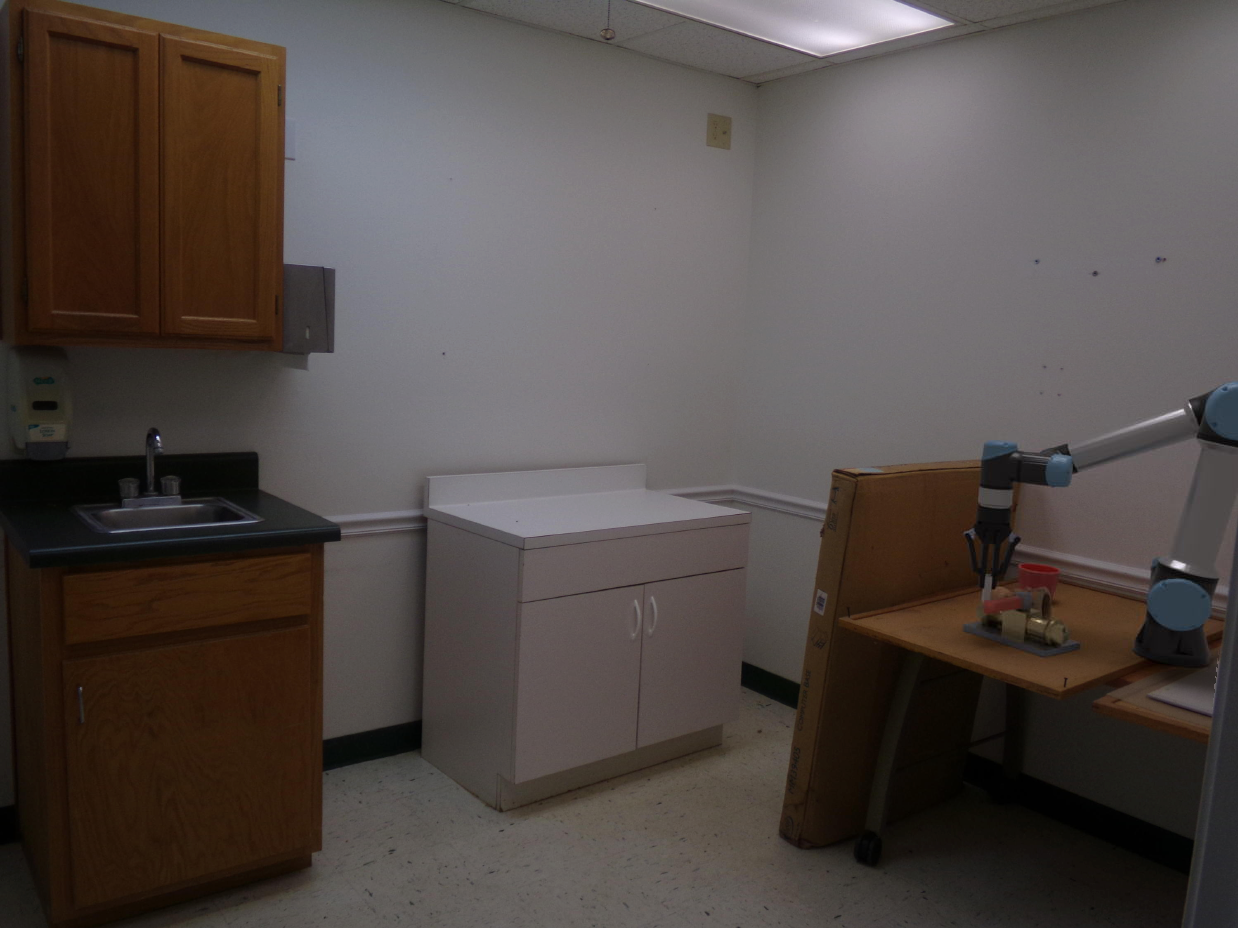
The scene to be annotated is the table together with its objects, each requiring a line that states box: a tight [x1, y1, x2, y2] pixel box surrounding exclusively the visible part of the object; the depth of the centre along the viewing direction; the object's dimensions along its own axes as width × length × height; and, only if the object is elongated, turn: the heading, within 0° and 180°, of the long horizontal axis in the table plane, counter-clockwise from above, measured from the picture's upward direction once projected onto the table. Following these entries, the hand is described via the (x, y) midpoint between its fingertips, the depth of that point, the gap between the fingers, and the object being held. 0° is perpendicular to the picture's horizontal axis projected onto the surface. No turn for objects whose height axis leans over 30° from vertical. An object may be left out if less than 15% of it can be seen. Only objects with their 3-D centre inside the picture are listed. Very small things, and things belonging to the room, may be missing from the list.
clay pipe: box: [990, 586, 1053, 621], centre depth 236 cm, size 19×11×15 cm
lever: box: [983, 591, 1032, 614], centre depth 215 cm, size 4×16×4 cm, turn 122°
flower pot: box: [1018, 563, 1061, 601], centre depth 256 cm, size 11×11×10 cm
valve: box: [962, 600, 1081, 658], centre depth 220 cm, size 22×14×8 cm, turn 32°
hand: (985, 601), depth 219 cm, fingers closed
